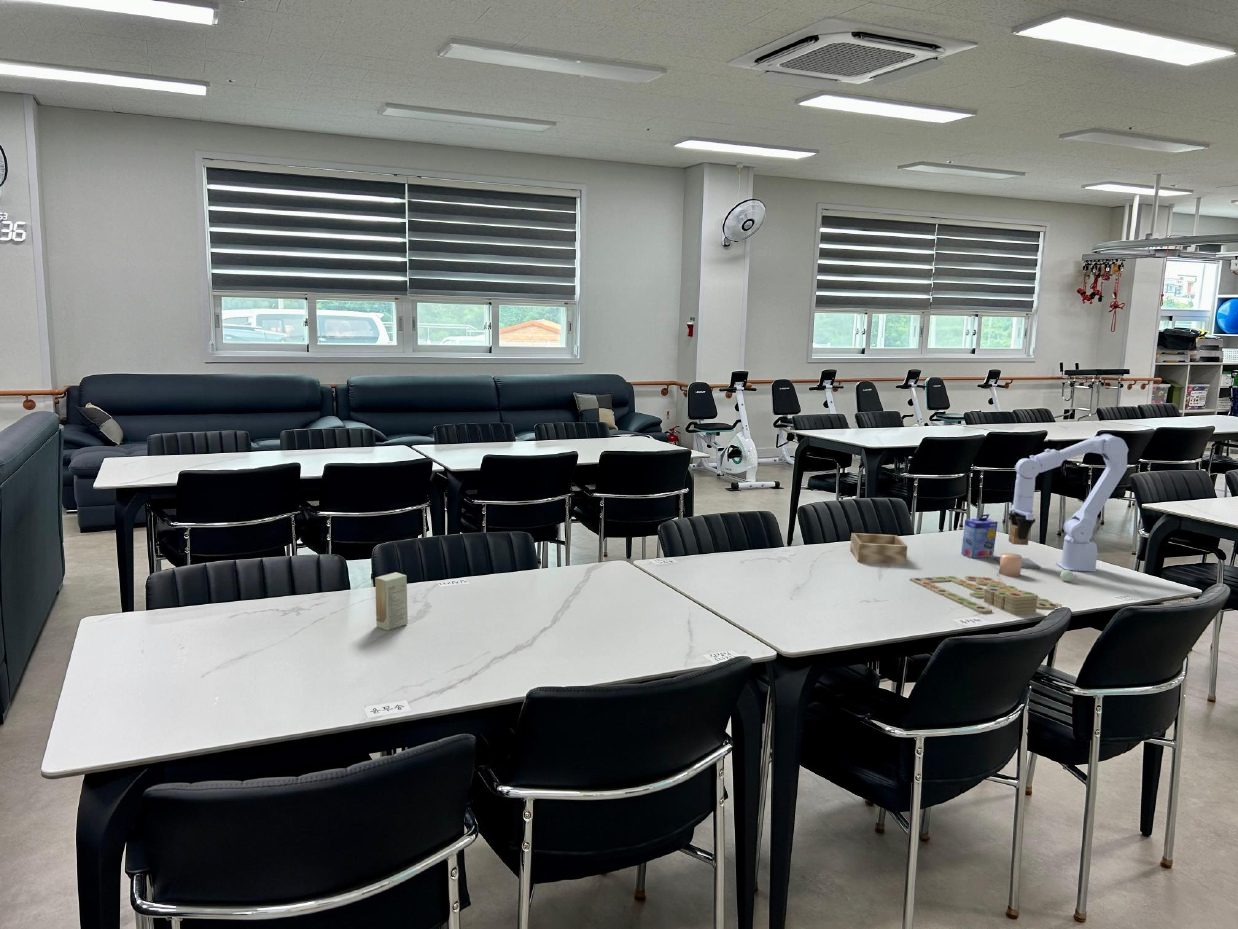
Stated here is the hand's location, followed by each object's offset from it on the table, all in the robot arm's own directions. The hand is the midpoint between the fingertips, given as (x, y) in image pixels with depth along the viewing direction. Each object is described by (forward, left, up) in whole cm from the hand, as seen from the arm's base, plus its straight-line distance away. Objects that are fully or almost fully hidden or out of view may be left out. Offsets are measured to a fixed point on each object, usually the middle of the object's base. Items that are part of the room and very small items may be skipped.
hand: (1019, 537), depth 285 cm
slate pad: (0, 0, -9) cm, 9 cm away
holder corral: (+45, +2, -9) cm, 46 cm away
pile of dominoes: (+22, +38, -10) cm, 45 cm away
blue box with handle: (+10, -8, -9) cm, 16 cm away
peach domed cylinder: (+7, +14, -9) cm, 18 cm away
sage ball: (-8, +19, -9) cm, 22 cm away
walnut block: (0, 0, -2) cm, 2 cm away
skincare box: (+176, +94, -9) cm, 200 cm away
